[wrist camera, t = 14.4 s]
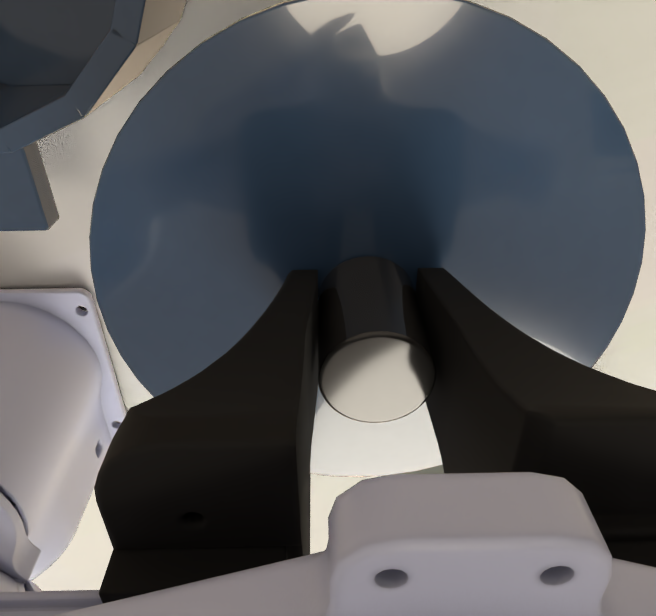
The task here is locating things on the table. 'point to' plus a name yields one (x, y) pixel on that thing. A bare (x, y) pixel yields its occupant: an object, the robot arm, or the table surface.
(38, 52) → the pot
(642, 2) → the table surface
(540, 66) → the pot lid
